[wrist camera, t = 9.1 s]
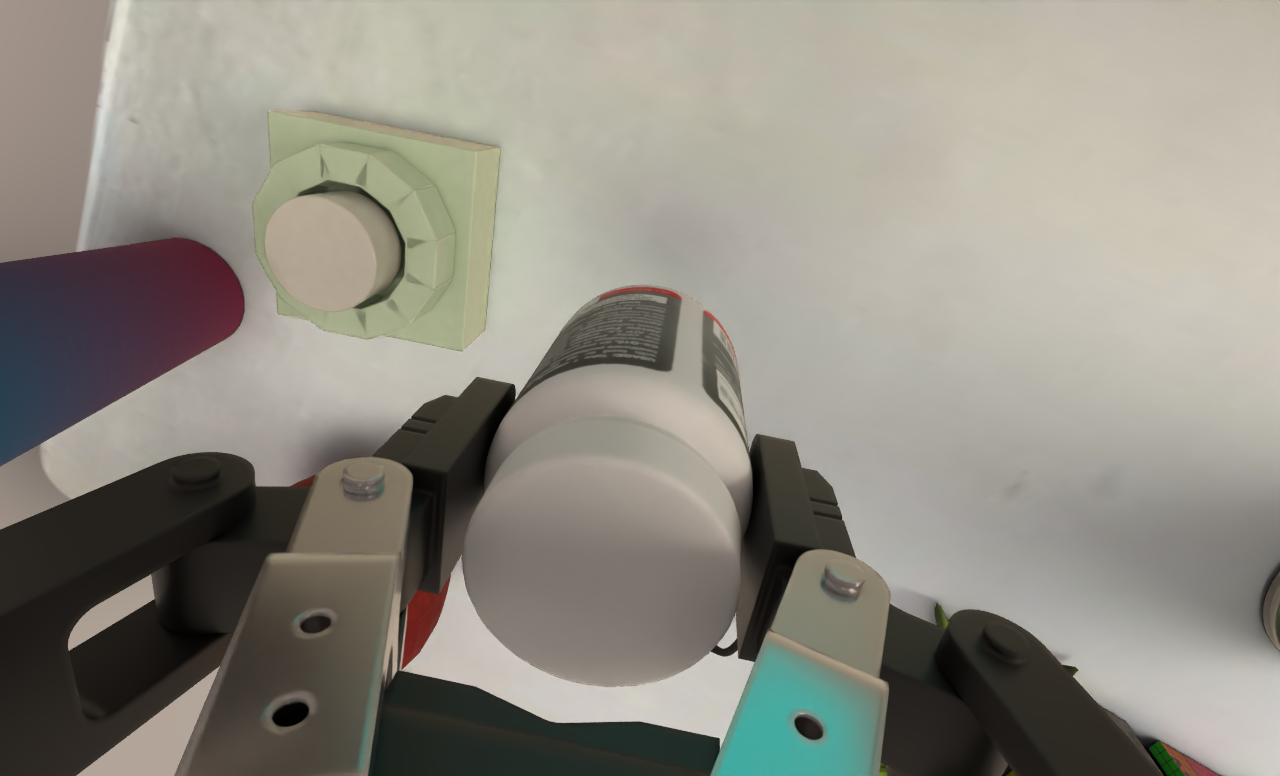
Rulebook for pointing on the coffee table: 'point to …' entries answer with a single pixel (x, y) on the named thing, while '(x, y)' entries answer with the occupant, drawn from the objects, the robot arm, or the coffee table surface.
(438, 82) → the coffee table surface
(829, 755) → the robot arm
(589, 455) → the pill bottle
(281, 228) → the beige button cap
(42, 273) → the cup
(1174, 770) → the block
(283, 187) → the button base
